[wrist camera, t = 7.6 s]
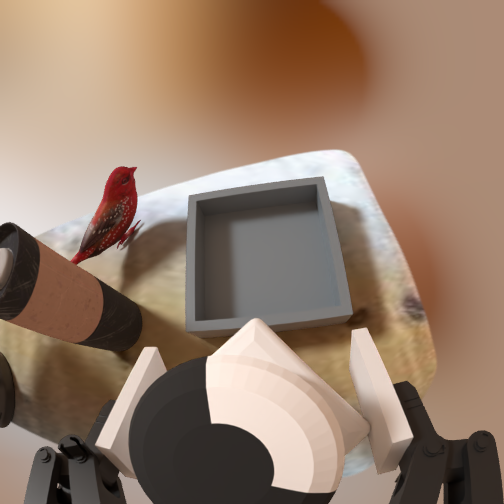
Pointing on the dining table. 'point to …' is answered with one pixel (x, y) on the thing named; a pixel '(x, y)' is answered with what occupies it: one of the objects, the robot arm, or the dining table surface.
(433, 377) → the dining table surface
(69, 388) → the dining table surface
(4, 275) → the travel mug
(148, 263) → the dining table surface
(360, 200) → the dining table surface
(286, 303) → the open-top bin
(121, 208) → the decorative bird figurine
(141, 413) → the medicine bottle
